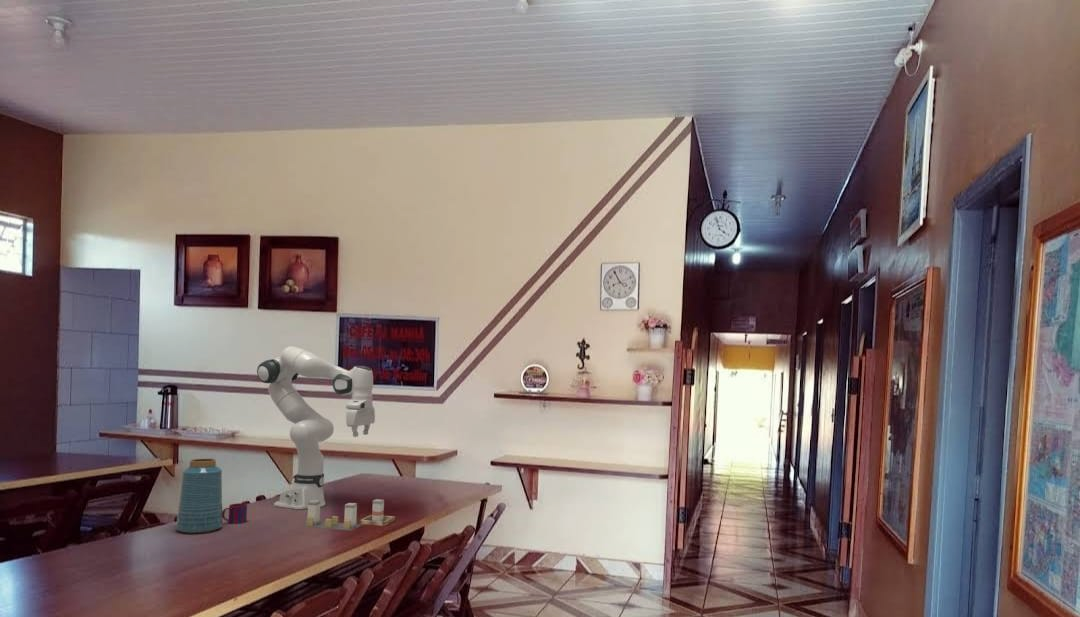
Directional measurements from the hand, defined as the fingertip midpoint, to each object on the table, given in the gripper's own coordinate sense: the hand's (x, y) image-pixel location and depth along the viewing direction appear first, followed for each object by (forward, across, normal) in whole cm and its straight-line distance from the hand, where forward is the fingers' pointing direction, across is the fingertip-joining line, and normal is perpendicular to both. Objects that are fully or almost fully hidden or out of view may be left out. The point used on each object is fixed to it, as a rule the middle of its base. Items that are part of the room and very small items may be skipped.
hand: (360, 435), depth 314 cm
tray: (+34, +12, +15) cm, 39 cm away
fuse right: (+33, +24, +9) cm, 42 cm away
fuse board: (+34, +24, +1) cm, 42 cm away
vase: (+34, +41, -46) cm, 71 cm away
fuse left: (+33, +24, -7) cm, 41 cm away
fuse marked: (+33, +12, +15) cm, 38 cm away
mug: (+34, +27, -41) cm, 60 cm away
